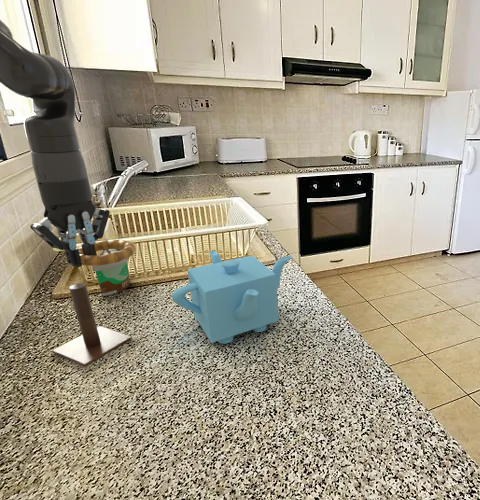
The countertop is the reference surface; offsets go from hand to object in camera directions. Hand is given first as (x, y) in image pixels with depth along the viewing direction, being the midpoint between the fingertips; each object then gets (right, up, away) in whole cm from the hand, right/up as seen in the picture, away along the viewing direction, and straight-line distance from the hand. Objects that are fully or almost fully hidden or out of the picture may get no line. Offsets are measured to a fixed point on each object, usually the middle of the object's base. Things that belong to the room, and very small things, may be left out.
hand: (83, 263), depth 74 cm
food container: (-4, -7, +20) cm, 21 cm away
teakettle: (+30, -13, +6) cm, 33 cm away
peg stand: (+5, -16, -3) cm, 17 cm away
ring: (+2, +2, +4) cm, 5 cm away
